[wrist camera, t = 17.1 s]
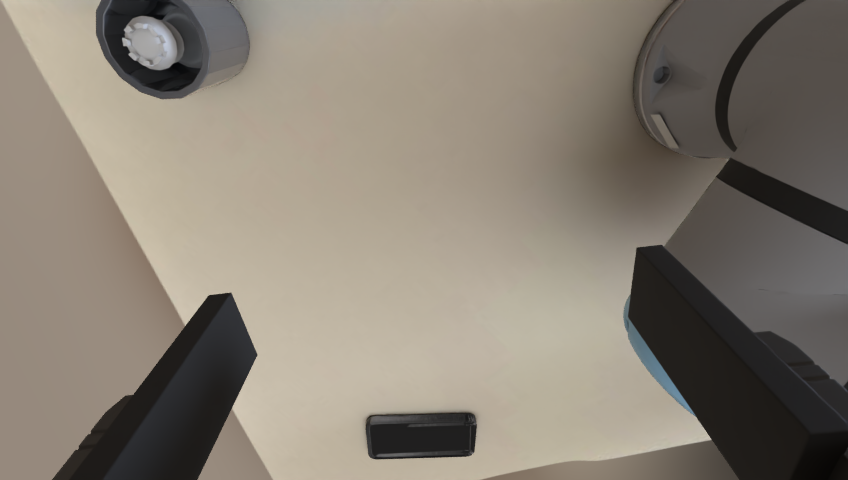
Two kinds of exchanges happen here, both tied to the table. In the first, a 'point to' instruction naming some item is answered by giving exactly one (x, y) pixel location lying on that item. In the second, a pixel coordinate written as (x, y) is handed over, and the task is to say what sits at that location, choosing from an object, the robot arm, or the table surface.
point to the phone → (421, 436)
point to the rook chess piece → (164, 41)
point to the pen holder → (220, 62)
